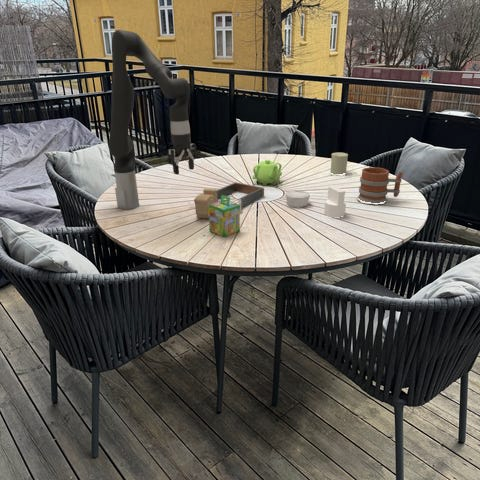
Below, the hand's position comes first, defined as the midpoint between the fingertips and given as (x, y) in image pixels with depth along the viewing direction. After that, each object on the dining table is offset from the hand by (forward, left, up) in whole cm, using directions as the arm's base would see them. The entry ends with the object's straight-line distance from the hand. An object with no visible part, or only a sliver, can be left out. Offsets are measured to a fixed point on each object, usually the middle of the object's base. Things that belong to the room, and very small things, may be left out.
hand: (184, 171), depth 174 cm
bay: (+31, -3, -22) cm, 38 cm away
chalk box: (-1, -21, -22) cm, 30 cm away
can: (+101, -27, -22) cm, 107 cm away
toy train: (+10, -3, -22) cm, 24 cm away
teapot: (+64, -2, -22) cm, 68 cm away
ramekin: (+43, -31, -22) cm, 57 cm away
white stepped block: (+40, -51, -22) cm, 68 cm away
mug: (+68, -61, -22) cm, 94 cm away
